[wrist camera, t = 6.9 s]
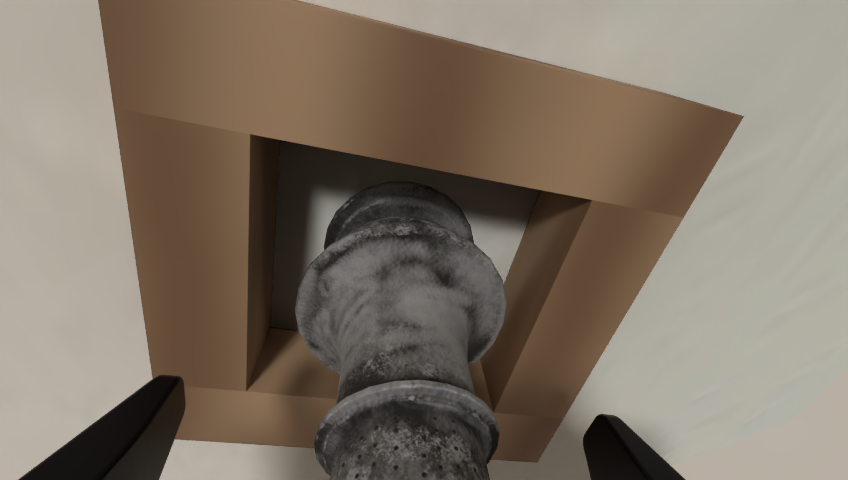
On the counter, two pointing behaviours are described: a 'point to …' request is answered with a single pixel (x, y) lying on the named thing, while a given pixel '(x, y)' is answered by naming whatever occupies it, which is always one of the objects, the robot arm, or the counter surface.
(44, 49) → the counter surface
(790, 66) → the counter surface
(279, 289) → the counter surface
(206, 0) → the well block
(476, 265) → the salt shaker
